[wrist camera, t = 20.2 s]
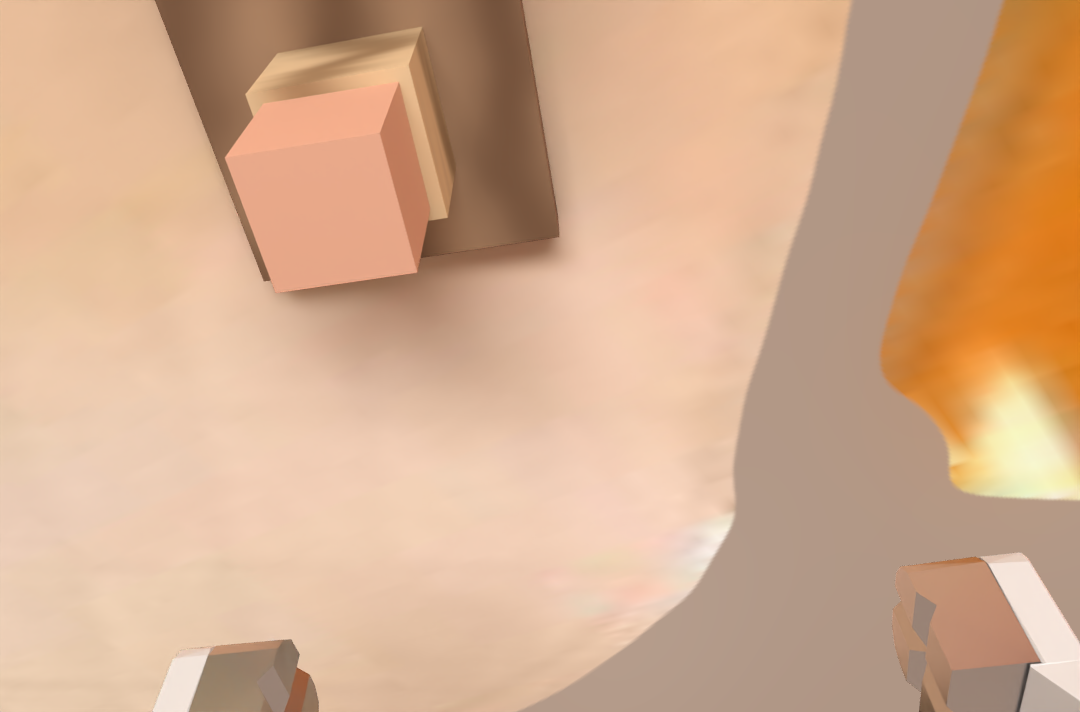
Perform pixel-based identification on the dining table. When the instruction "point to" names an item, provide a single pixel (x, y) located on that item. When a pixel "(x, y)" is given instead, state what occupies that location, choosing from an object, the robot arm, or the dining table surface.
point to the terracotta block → (332, 187)
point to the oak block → (370, 66)
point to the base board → (461, 77)
